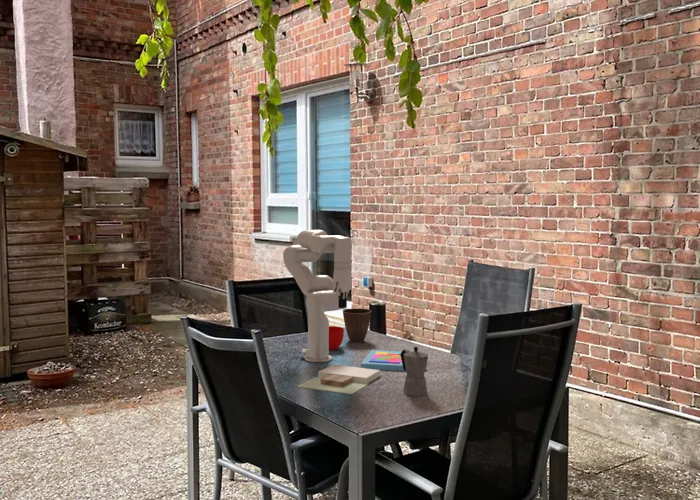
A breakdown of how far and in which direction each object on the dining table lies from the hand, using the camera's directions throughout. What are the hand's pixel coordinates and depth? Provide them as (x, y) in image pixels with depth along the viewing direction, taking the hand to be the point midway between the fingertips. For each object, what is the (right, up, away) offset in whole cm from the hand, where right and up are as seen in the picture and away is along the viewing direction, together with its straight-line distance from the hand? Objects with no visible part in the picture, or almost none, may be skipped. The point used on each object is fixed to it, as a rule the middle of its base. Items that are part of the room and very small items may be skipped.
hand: (342, 307), depth 303 cm
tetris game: (+24, -27, +15) cm, 39 cm away
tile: (-2, -29, -21) cm, 35 cm away
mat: (-3, -29, -24) cm, 38 cm away
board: (+3, -28, -10) cm, 30 cm away
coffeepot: (+28, -30, -33) cm, 52 cm away
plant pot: (+7, -23, +62) cm, 66 cm away
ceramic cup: (-5, -24, +45) cm, 51 cm away
